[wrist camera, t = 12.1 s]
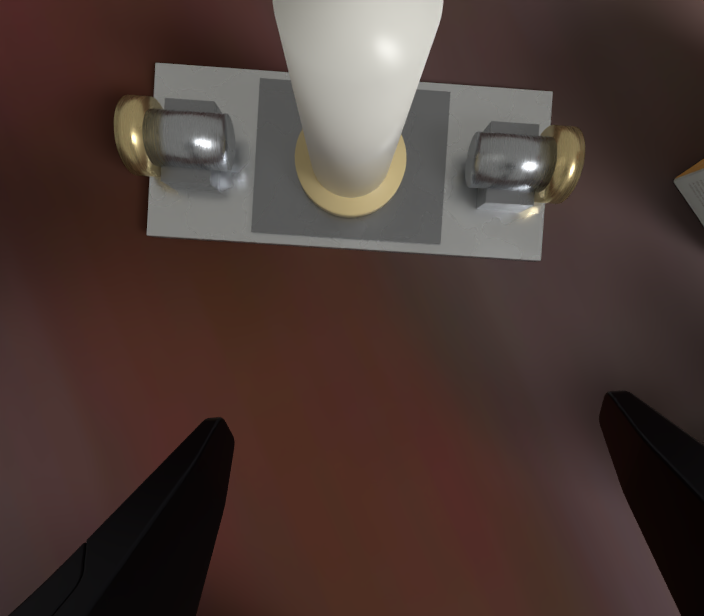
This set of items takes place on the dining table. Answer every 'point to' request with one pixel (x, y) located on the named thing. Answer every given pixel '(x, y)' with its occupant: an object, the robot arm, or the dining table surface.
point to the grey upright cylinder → (354, 93)
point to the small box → (693, 188)
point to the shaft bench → (293, 203)
